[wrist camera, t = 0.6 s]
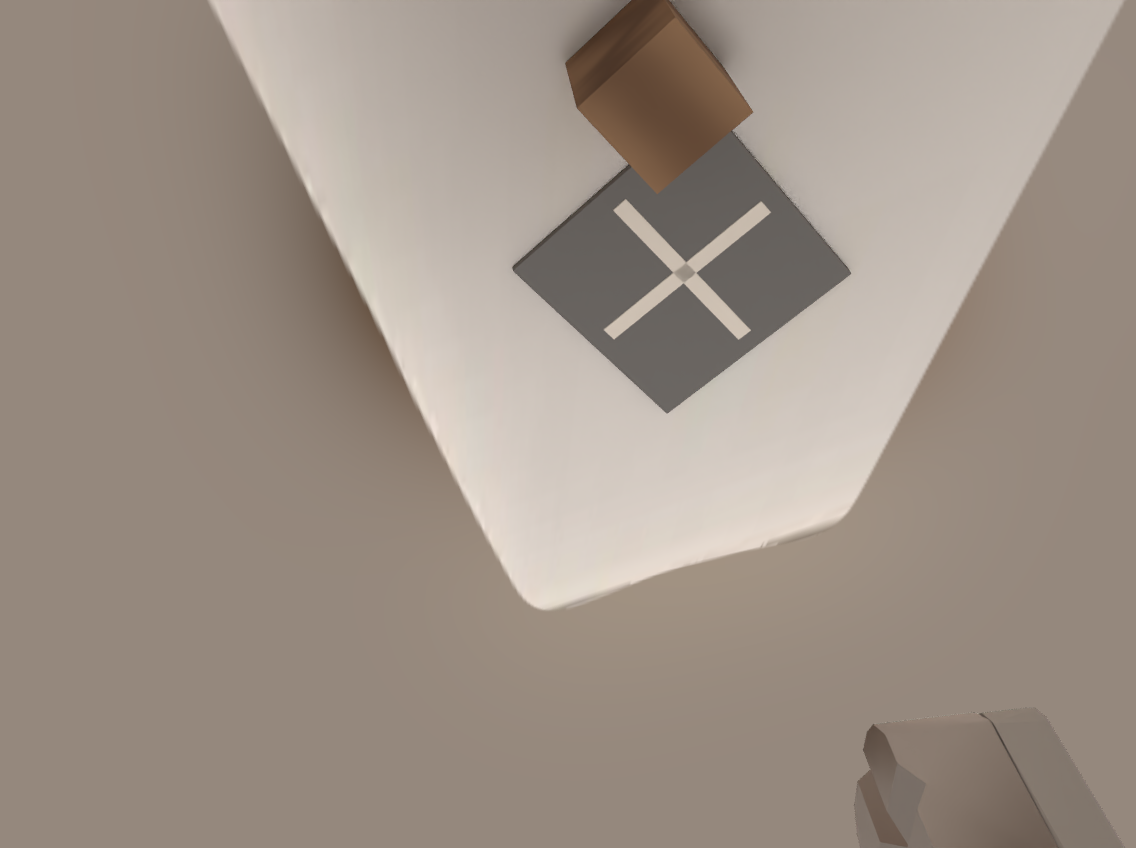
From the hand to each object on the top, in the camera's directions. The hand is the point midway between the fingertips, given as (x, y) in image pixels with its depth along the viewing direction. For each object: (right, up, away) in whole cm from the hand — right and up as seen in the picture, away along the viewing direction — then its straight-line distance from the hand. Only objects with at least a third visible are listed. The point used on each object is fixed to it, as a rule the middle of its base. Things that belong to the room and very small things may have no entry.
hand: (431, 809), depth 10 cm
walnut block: (+5, +19, +37) cm, 42 cm away
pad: (+7, +11, +43) cm, 45 cm away
